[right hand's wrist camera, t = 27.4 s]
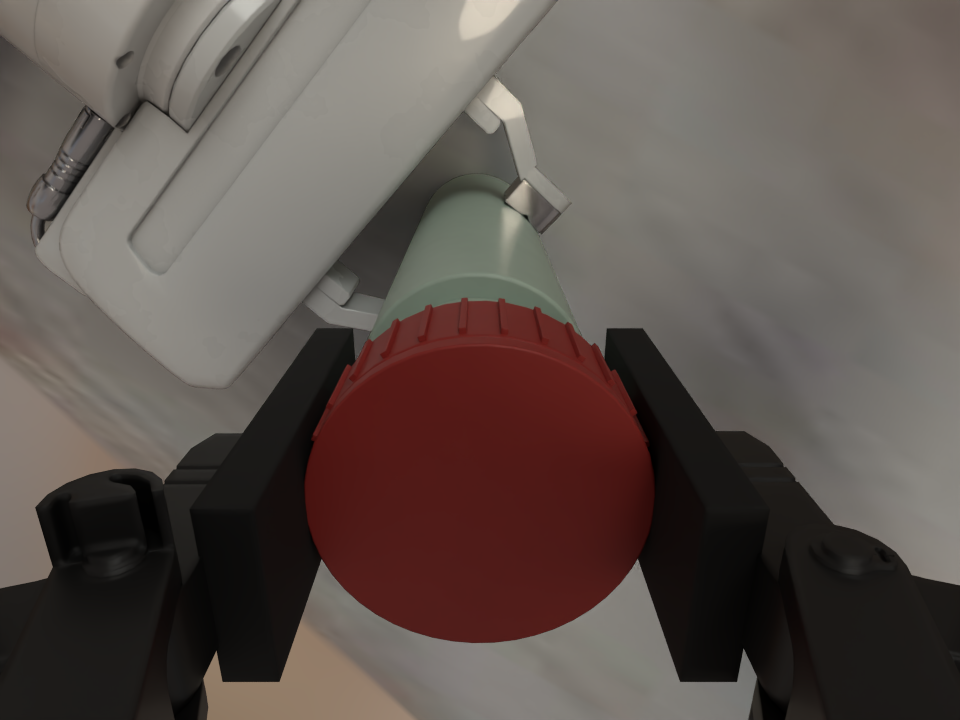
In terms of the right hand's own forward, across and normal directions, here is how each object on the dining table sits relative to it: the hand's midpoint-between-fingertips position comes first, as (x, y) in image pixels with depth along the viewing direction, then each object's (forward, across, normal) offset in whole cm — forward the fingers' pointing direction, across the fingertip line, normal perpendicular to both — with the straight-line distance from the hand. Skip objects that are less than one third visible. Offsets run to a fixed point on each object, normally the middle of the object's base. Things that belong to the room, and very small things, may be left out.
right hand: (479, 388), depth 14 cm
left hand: (+10, -1, 0) cm, 10 cm away
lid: (-4, 0, 0) cm, 4 cm away
